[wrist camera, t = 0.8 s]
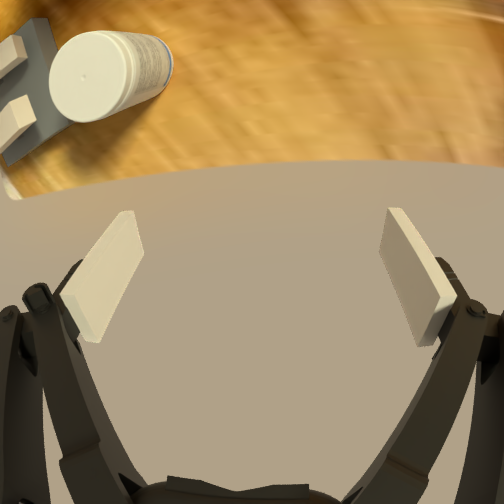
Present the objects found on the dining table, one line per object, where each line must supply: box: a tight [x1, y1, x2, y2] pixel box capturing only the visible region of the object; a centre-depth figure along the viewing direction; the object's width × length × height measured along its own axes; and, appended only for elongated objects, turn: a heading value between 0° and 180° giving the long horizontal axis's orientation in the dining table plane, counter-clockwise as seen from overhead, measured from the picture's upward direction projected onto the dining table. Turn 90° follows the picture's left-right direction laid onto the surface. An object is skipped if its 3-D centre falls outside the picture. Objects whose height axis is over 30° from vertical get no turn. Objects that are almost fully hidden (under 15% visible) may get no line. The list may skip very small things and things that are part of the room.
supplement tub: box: [49, 31, 173, 123], centre depth 28 cm, size 10×10×15 cm
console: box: [0, 18, 75, 167], centre depth 32 cm, size 19×16×7 cm
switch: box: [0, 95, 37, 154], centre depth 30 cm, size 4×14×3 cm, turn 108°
